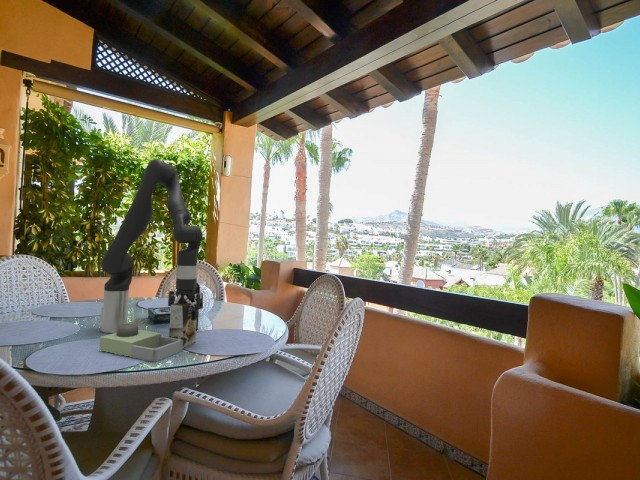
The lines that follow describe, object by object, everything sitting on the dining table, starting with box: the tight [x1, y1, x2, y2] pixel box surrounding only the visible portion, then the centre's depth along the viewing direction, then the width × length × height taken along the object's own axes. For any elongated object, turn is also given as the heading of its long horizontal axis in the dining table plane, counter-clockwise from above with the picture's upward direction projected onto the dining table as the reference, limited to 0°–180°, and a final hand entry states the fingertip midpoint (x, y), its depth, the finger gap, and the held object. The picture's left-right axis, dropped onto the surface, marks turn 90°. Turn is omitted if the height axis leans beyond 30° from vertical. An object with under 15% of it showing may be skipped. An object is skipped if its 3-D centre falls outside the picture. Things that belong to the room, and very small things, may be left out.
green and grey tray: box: [99, 323, 184, 363], centre depth 134 cm, size 24×14×8 cm, turn 71°
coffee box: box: [168, 302, 197, 349], centre depth 145 cm, size 9×6×16 cm
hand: (184, 318), depth 145 cm, fingers open, 8 cm apart
